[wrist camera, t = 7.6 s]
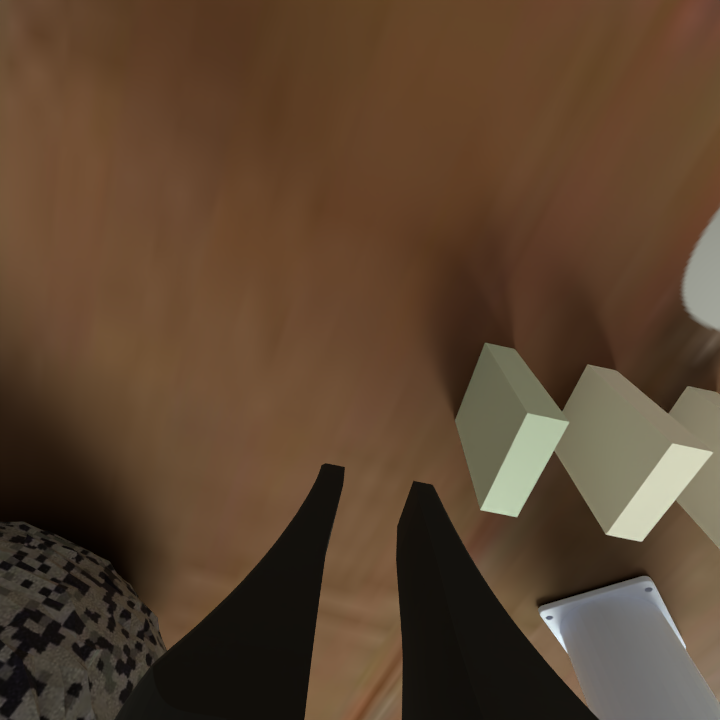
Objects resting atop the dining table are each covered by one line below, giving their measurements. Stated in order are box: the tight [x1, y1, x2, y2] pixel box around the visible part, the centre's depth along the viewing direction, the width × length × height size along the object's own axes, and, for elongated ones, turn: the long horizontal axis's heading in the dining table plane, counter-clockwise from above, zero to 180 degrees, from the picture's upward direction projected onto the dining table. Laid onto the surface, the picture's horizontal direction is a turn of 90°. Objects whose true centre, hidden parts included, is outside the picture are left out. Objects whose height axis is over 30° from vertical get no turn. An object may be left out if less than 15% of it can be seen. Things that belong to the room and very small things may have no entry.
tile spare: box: [455, 343, 569, 517], centre depth 18 cm, size 2×5×6 cm, turn 168°
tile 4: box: [554, 364, 713, 542], centre depth 18 cm, size 2×5×6 cm, turn 168°
